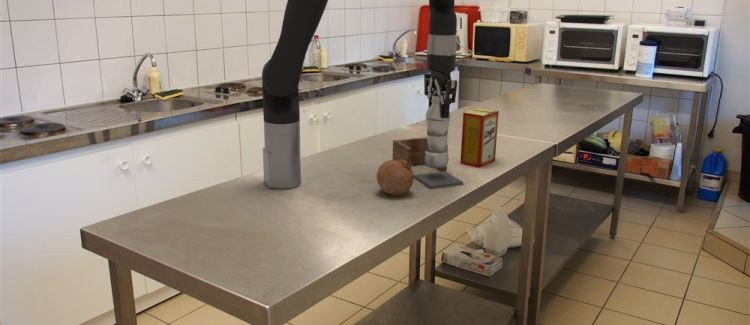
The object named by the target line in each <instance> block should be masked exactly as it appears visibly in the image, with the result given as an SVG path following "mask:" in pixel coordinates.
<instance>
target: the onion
mask: <svg viewBox="0 0 750 325" xmlns="http://www.w3.org/2000/svg"><path fill="white" fill-rule="evenodd" d="M414 175H415V174H414V171H413V170H412V167H411V168H410V165H409V164H408V163H407V161H406V160H392V159H391V160H389V159H388V160H386V161H384V162H383V163H382V164H380V165H379V167H378V169H377V172H376V182H377V184H378V185H379V187H380V189H381V190H382V191H383V192H384V193H385V194H386V195H390V196H392V197H398V196H402V195H403V194H406V193H407V192H408V191H410V189H411V188H412V186H413V184H414V179H415V178H414Z"/></svg>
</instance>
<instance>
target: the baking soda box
mask: <svg viewBox="0 0 750 325" xmlns="http://www.w3.org/2000/svg"><path fill="white" fill-rule="evenodd" d="M499 113H500V112H499V110H495V109H489V108H483V107H477V108H474V109H471V110H468V111H465V112H463V113H462V128H461V149H460V159H459V161H460V162H459V163H460V165H462V166H463V165H464V166H468V167H473V168H477V169H480V168H483V167H485V166H487V165H490V164H492V163H495V162H496V153H497V136H498V124H499Z"/></svg>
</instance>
